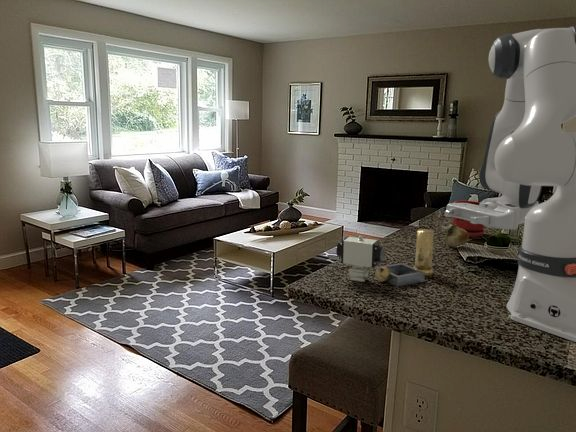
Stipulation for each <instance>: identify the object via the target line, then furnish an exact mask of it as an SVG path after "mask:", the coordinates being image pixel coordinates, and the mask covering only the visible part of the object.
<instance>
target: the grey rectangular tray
mask: <svg viewBox="0 0 576 432" xmlns="http://www.w3.org/2000/svg"><path fill="white" fill-rule="evenodd" d="M413 267H414V266H410V265H408V264H406V263H403V262H398V263H393V264H388V265H380V266H375V277H376V280H377V281H378V282H380V283H383V282H387V283H389V284H391V285H393V286H394V287H402V286H403V287H404V286H407V285H412V284H418V283H425V277H426V276H425V272H423V271H420V270H418V269H415V268H413ZM398 274H400V275H398Z"/></svg>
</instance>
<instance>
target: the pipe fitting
mask: <svg viewBox="0 0 576 432" xmlns="http://www.w3.org/2000/svg"><path fill="white" fill-rule="evenodd" d="M434 237H435V231H434V230H432V229H428V228H421V229H420V228H419V229H417V231H416V246H415V261H414V265H413V266H412V267H413V268H415V269H418V270H420V271H423V272H425V277H429V276H430V277H431V276H432V275H433V270H434V267H432V266H433V254H434V253H433V252H434V251H433V250H434Z"/></svg>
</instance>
